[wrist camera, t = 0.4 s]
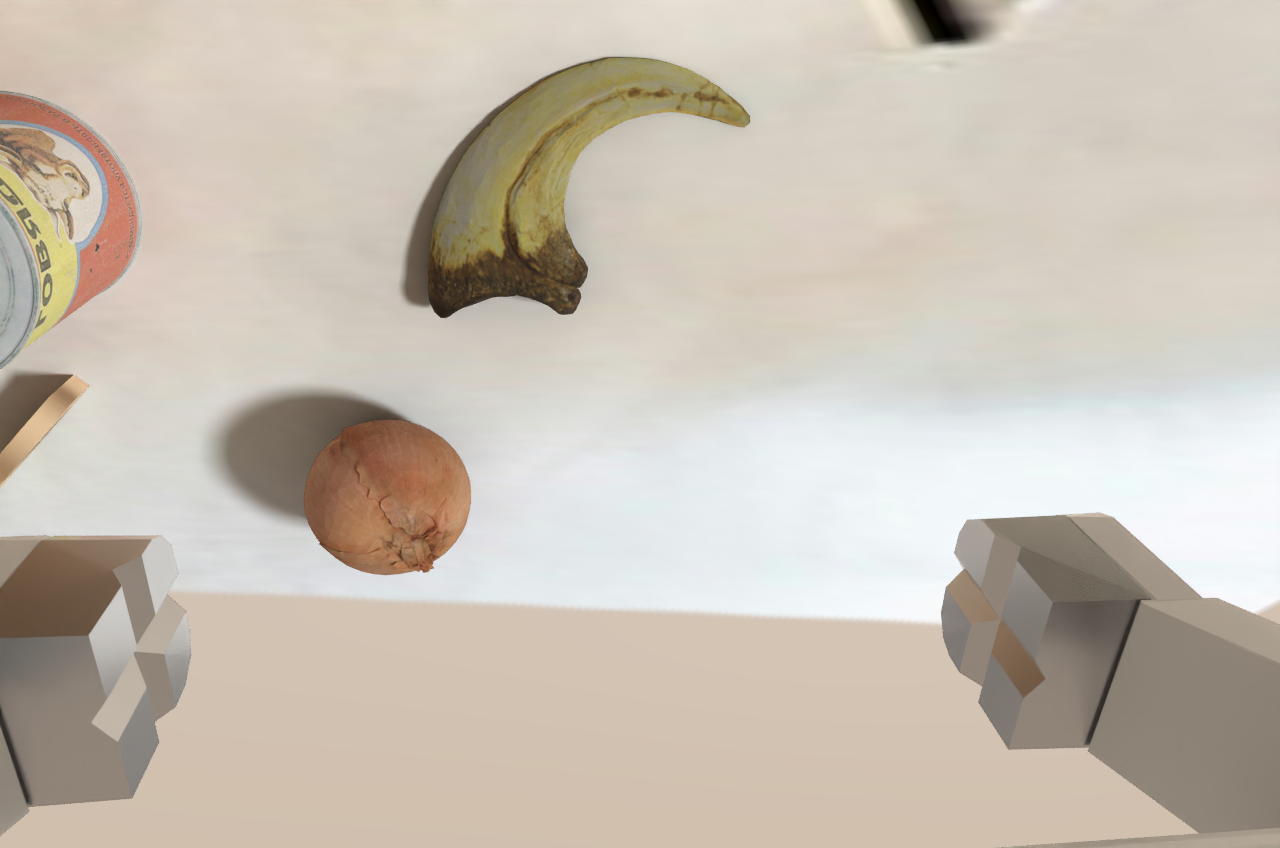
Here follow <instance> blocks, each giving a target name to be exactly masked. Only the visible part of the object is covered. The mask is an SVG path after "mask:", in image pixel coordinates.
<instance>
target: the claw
mask: <svg viewBox="0 0 1280 848" xmlns="http://www.w3.org/2000/svg"><path fill="white" fill-rule="evenodd" d="M661 112H679V113H686V114H693V115H698V116H702V117H706V118H709V119H713V120H718V121H722V122H725V123H728V124H731V125H734V126H738V127H745V126H746V125H748V124H749V123H750V116H749V115H748V113H747V112H746V111H745V110H744V108H743V107H742V106H741V105H740V104H739V103H738V102H736V101H735V100H734V99H733V98H732V97H731V96H729V95H728V94H726V93H725V92H724V91H723V90H722V89H721V88H720V87H718V86H716V85H715V84H713V83H711V82H710V81H709V80H707V79H705V78H704V77H702V76H700V75H698V74H696V73H694V72H692V71H690V70H688V69H685V68H682V67H680V66H677V65H674V64H670V63H667V62H663V61H659V60H652V59H640V58H607V59H602V60H599V61H596V62H592V63H586V64H583V65H579V66H576V67H573V68H571V69H568V70H566V71H563V72H561V73H559V74H557V75H554V76H552V77H550V78H548V79H546V80H544V81H542V82H540V83H539V84H537V85H536V86H534V87H533V88H531V89H530V90H528V91H527V92H525V93H524V94H522V95H521V96H520V97H518V98H517V99H516V100H515V101H513V102H512V103H511V104H510V105H509V106H507V107H506V108H505V109H504V110H503V111H501V112H500V113H499V114H498V115H497V116H496V117H495V118H494V119H493V120H491V122H490V124H489V125H488V126H487V127H485V128H484V129H483V131H482V132H481V133H480V134H479V135H478V137H477V138H476V139H475V140H474V141H473V143H472V144H471V145H470V147H469V148H468V150H467V151H466V153H465V154H464V156H463V157H462V159H461V161H460V162H459V164H458V165H457V167H456V169H455V171H454V172H453V174H452V176H451V178H450V180H449V182H448V185H447V187H446V190H445V192H444V194H443V197H442V200H441V203H440V205H439V208H438V211H437V214H436V218H435V221H434V224H433V229H432V236H431V243H430V255H429V265H428V276H429V281H428V291H429V301H430V304H431V306H432V308H433V310H434V312H435V313H436V314H437V315H438V316H439V317H440V318H447V317H449V316H451V315H452V314H453V313H455V312H456V311H458V310H460V309H462V308H464V307H467V306H470V305H473V304H476V303H479V302H481V301H484V300H487V299H489V298H493V297H509V296H515V295H519V296H523V297H528V298H531V299H533V300H536V301H539V302H541V303H543V304H545V305H548V306H549V307H551V308H552V309H553V310H555V311H556V312H557V313H558V314H562V315H564V314H573V313H574V311H575V310H576V308H577V306H578V304H579V302H580V299H581V293H580V291H579V290H578V289H577V288H579V287H581V286H582V284H583V283H584V281H585V279H586V277H587V272H588V267H587V265H586V263H585V261H584V259H583V258H582V257H581V256H580V254H579V253H578V252H577V250H576V249H575V247H574V245H573V243H572V240H571V238H570V235H569V233H568V231H567V229H566V225H565V216H564V200H565V193H566V188H567V184H568V180H569V176H570V173H571V170H572V168H573V166H574V164H575V162H576V160H577V158H578V155H579V154H580V153H581V151H582V150H583V149H584V148H585V147H586V146H587V145H588V144H589V143H590V142H591V141H592V140H593V139H594V138H596V137H597V136H599V135H600V134H602V133H603V132H605V131H607V130H608V129H610V128H611V127H613V126H615V125H618V124H620V123H622V122H624V121H626V120H629V119H633V118H636V117H640V116H644V115H649V114H655V113H661Z"/></svg>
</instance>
